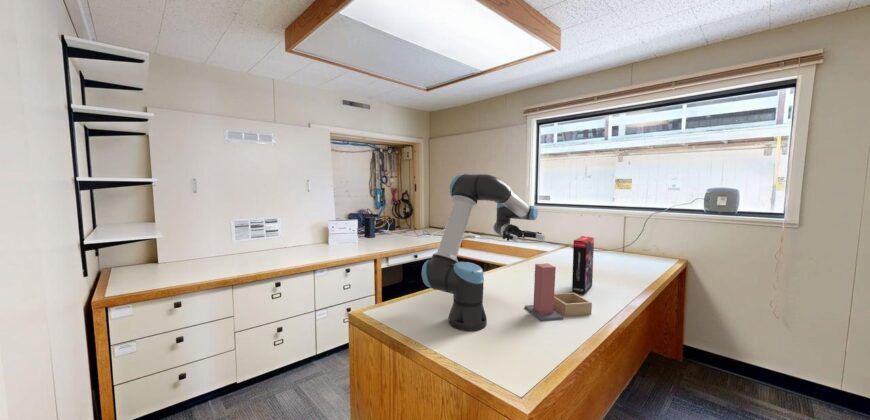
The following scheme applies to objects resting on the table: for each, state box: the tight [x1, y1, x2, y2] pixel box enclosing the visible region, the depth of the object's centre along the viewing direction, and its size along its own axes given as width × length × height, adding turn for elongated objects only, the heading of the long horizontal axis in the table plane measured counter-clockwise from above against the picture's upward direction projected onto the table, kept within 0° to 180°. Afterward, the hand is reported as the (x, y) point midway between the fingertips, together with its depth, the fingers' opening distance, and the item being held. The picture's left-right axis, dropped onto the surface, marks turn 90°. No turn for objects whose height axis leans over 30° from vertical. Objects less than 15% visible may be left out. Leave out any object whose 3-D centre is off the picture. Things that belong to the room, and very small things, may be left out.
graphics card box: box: [571, 235, 595, 295], centre depth 172 cm, size 17×7×27 cm, turn 143°
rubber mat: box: [524, 304, 564, 322], centre depth 141 cm, size 10×14×1 cm
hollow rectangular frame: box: [554, 292, 593, 317], centre depth 146 cm, size 13×13×5 cm
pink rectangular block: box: [532, 263, 557, 314], centre depth 140 cm, size 6×6×20 cm
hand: (530, 238), depth 151 cm, fingers open, 13 cm apart
